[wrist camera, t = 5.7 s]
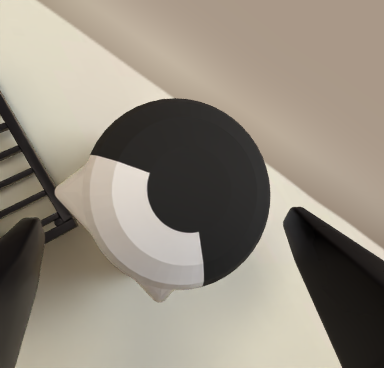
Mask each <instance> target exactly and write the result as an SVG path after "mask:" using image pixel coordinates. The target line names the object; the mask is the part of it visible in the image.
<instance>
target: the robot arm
mask: <svg viewBox="0 0 384 368" xmlns="http://www.w3.org/2000/svg"><path fill="white" fill-rule="evenodd" d="M283 227H284V230H285V233H286V236H287V239H288V242H289V245H290V248H291V251H292V254H293V257H294V260H295V262H296V265H297V267H298V269H299V272H300V274H301V276H302V278H303V281H304V283H305V285H306V287H307V290H308V292H309V294H310V296H311V298H312V301H313V303H314V305H315V307H316V310H317V312H318V314H319V316H320V319H321V321H322V323H323V325H324V328H325V330H326V332H327V334H328V337H329V339H330V341H331V343H332V346H333V348H334V350H335V352H336V355H337V357H338V359H339V361H340V364H341V366H342V368H384V261H383V260H382V259H380V258H379V257H377V256H376V255H374V254H373V253H371V252H370V251H368V250H367V249H365V248H363V247H362V246H360V245H359V244H357V243H356V242H354V241H353V240H351V239H350V238H348V237H347V236H345V235H344V234H342V233H341V232H339V231H338V230H336V229H335V228H333V227H332V226H330V225H329V224H327V223H325V222H324V221H322V220H321V219H319V218H318V217H316V216H315V215H313V214H312V213H310V212H309V211H307V210H306V209H304V208H302V207H292V208H291V209H290V210H289V212H288V214H287V216H286V217H285V219H284V221H283ZM44 244H45V233H44V230H43V227H42V224H41V221H40V219H39V218H36V217H34V218H23V219H22V220H20V221H19V222H18V223H17V224H16V225H15V226H14V227H13V228H12V229H10V230H9V231H8V232H7V233H6V234H5V235H4V236H3V237H2V238H1V239H0V368H15V365H16V362H17V358H18V355H19V351H20V348H21V344H22V341H23V337H24V334H25V330H26V327H27V323H28V320H29V316H30V313H31V309H32V306H33V302H34V299H35V295H36V292H37V288H38V282H39V276H40V270H41V264H42V257H43V251H44Z"/></svg>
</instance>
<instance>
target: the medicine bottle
mask: <svg viewBox="0 0 384 368" xmlns="http://www.w3.org/2000/svg"><path fill="white" fill-rule="evenodd" d="M55 196H56V197H57V199H58V200H59V201H60V202H61V203H62V204H63V205H64V206H65V207H66V208H67V209H68V210H69V211H70V212H71V213H72V214H73V215H74V217H75V218H76V219H77V220H78V221H79V222H80V223H81V224H82V225H83V226H84V227H85V228H86V229H87V230H88V231H89V232H90V233H91V234H92V236H93V239H94V241H95V242H96V244H97V245H98V247H99V248H100V250H101V251H102V253H103V254H104V255H105V256H106V257H107V258H108V260H109V261H110V262H111V263H112V264H113V265H114V266H116V267H117V268H118V269H119V270H120V271H122V272H123V273H124V274H126V275H128V276H129V277H131V278H133V279H134V280H135V281H136V282H137V283H138V284H139V285H140V286H141V287H142V288H143V289H144V290H145V291H146V292H147V293H148V295H149V296H150V297H151V298H152V299H153V300H155V301H156V302H163V301H165V300H166V299H167V298H168V297H169V295H170V294H171V293H172V292H173V291H174V290H187V289H194V288H199V287H203V286H206V285H208V284H211V283H214V282H216V281H218V280H220V279H222V278H224V277H226V276H227V275H228V274H230V273H231V272H233V271H234V270H235V269H237V268H238V267H239V266H240V265H241V264H242V263H243V262H244V261H245V260H246V259H247V258H248V256H249V255H250V254H251V252H252V251H253V250H254V248H255V247H256V245H257V243H258V242H259V240H260V238H261V236H262V233H263V231H264V228H265V225H266V222H267V218H268V214H269V207H270V184H269V177H268V173H267V168H266V165H265V163H264V160H263V157H262V155H261V153H260V151H259V149H258V147H257V145H256V144H255V143H254V141H253V139H252V138H251V137H250V135H249V134H248V133H247V132H246V131H245V129H244V128H243V127H242V126H241V125H240V124H239V123H237V122H236V121H235V120H234V119H233V118H232V117H230V116H228V115H227V114H226V113H224V112H222V111H220V110H219V109H217V108H215V107H213V106H210V105H208V104H205V103H202V102H198V101H194V100H188V99H176V98H174V99H161V100H157V101H152V102H148V103H146V104H143V105H140V106H138V107H136V108H134V109H132V110H130V111H128V112H126V113H125V114H123V115H122V116H121V117H119V118H118V119H117V120H115V121H114V122H113V123H112V124H111V125H110V126H109V127H108V128H107V129H106V130H105V132H104V133H103V134H102V136H101V137H100V138H99V140H98V141H97V143H96V144H95V146H94V148H93V150H92V152H91V154H90V156H89V159H88V162H87V163H86V164H85V165H84V166H82V167H81V168H80V169H79V170H77V171H76V172H75V173H73V174H72V175H71V176H70V177H68V178H67V179H66V180H64V181H63V182H62V183H61V184H59V185H58V186H57V187H56V189H55Z"/></svg>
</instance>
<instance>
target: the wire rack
mask: <svg viewBox="0 0 384 368" xmlns="http://www.w3.org/2000/svg"><path fill="white" fill-rule="evenodd" d="M0 115H1V116H2V118H3V120H4V122H5V123H2V124H0V133H1V132H4V131H6V130H10V132H11V134H12V135H13V137H14V139H15V140H16V142H17V144H18V146H15V147H13V148H10V149H8V150H6V151H4V152H1V153H0V161H2V160H4V159H6V158H9V157H11V156H13V155H15V154H18V153H20V152H23V154H24V156H25V158H26V159H27V161H28V163H29V165H30V166H31V168H30V169H27V170H25V171H23V172H21V173H19V174H16V175H14V176H12V177H10V178H8V179H6V180H3V181H1V182H0V190H1V189H3V188H5V187H7V186H10V185H12V184H14V183H16V182H18V181H20V180H22V179H25V178H27V177H29V176H31V175H33V174H35V175H36V177H37V178H38V180H39V182H40V183H41V185H42V187H43V189H44V190H43V191H41V192H39V193H37V194H35V195H33V196H31V197H29V198H27V199H25V200H23V201H21V202H19V203H17V204H15V205H13V206H11V207H8V208H6V209H4V210H2V211H0V219H2V218H4V217H6V216H8V215H10V214H12V213H14V212H16V211H18V210H20V209H22V208H24V207H26V206H28V205H30V204H32V203H34V202H36V201H38V200H40V199H42V198H44V197H46V196H48V197H49V199H50V201H51V202H52V204H53V206H54V207H55V209H56V211H57V213H55V214H53V215H51V216H49V217H47V218H45V219H43V220H41V224H42V227H43V226H45V225H47V224H49V223H51V222H53V221H54V223H55V225H56V226H57V227H55V228H53V229H51V230H49V231H47V232H46V233H45V244H46V243H48V242H50V241H52V240H53V239H55V238H57V237H59V236H61V235H63V234H64V233H66V232H68V231H70V230H72V229H74V228H75V227H77V226H78V224H77V222H76V220H75V219H74V217H73V215H72V213H71V212H70V211H69V210H68V209H67V208H66V207H65V206H64V205H63V204H62V203H61V202H60V201H59V200H58V199H57V197H56V196H55V189H56V186H55V184H54V182H53V181H52V179H51V177H50V175H49V174H48V172H47V170H46V168H45V167H44V165H43V163H42V162H41V160H40V158H39V156H38V155H37V153H36V151H35V150H34V148H33V146H32V144H31V143H30V141H29V139H28V137H27V136H26V134H25V132H24V131H23V129H22V127H21V125H20V124H19V122H18V120H17V119H16V117H15V115H14V113H13V112H12V110H11V108H10V106H9V105H8V103H7V101H6V100H5V98H4V96H3V94H2V93H1V91H0Z"/></svg>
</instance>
